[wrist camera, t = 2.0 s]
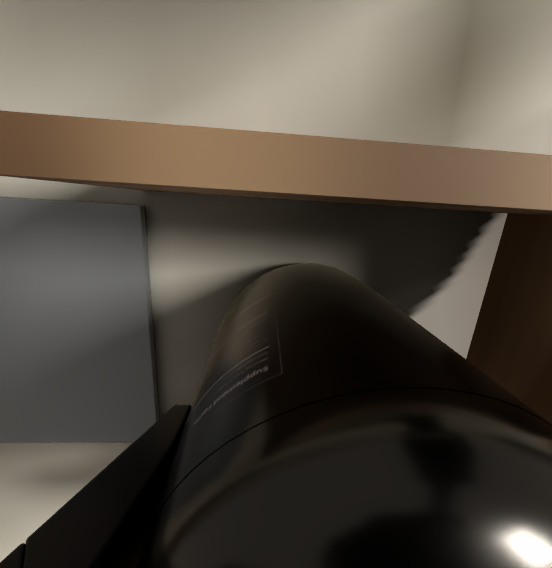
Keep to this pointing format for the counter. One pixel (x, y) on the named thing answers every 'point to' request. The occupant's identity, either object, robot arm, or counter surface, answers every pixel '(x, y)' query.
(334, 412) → the supplement bottle
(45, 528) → the robot arm
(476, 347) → the open box
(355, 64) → the counter surface
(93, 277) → the mat
